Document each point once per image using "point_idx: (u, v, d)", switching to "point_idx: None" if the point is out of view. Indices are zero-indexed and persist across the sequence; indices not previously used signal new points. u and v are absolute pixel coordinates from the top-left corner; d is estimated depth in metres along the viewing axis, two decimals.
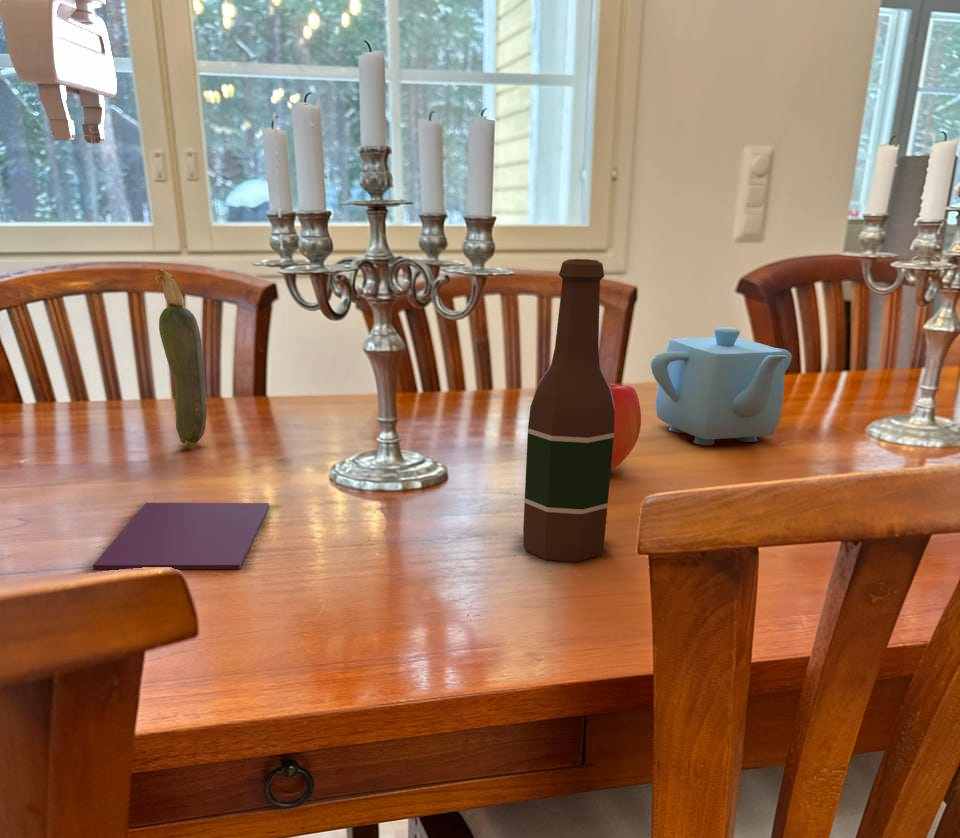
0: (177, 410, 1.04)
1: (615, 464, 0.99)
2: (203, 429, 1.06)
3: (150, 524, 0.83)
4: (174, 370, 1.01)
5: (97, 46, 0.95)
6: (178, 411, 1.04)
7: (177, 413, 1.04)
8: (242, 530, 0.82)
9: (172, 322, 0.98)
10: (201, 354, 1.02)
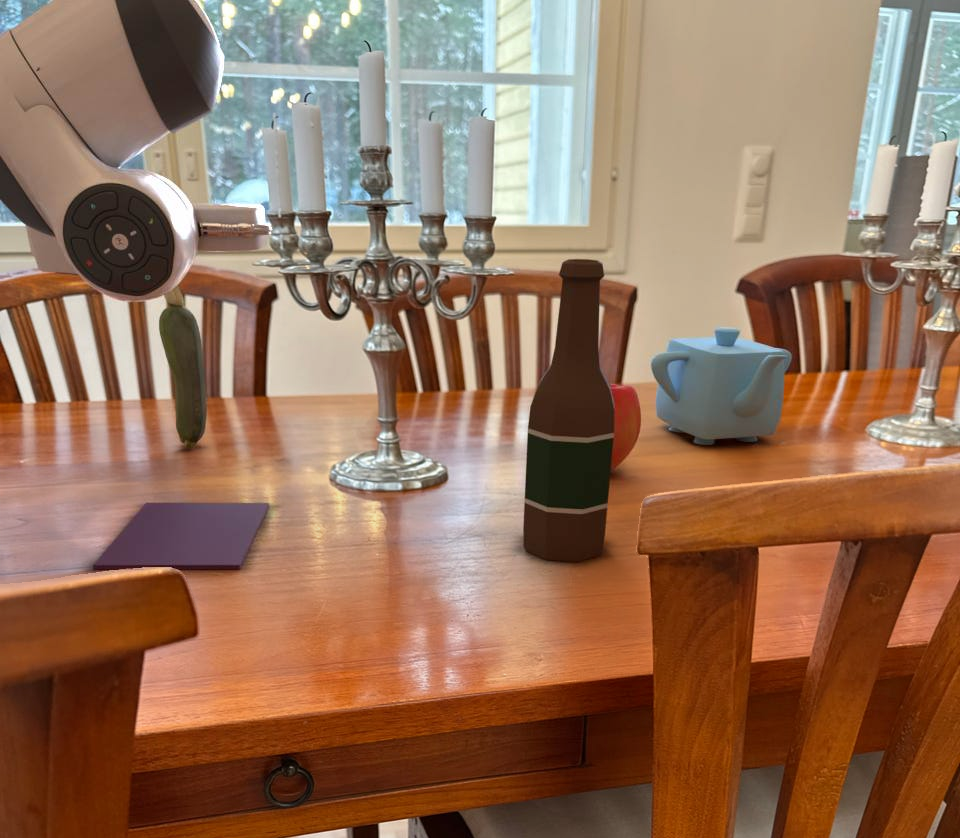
0: (177, 410, 1.04)
1: (615, 464, 0.99)
2: (203, 429, 1.06)
3: (150, 524, 0.83)
4: (174, 370, 1.01)
5: None
6: (178, 411, 1.04)
7: (177, 413, 1.04)
8: (242, 530, 0.82)
9: (171, 322, 0.98)
10: (201, 354, 1.02)
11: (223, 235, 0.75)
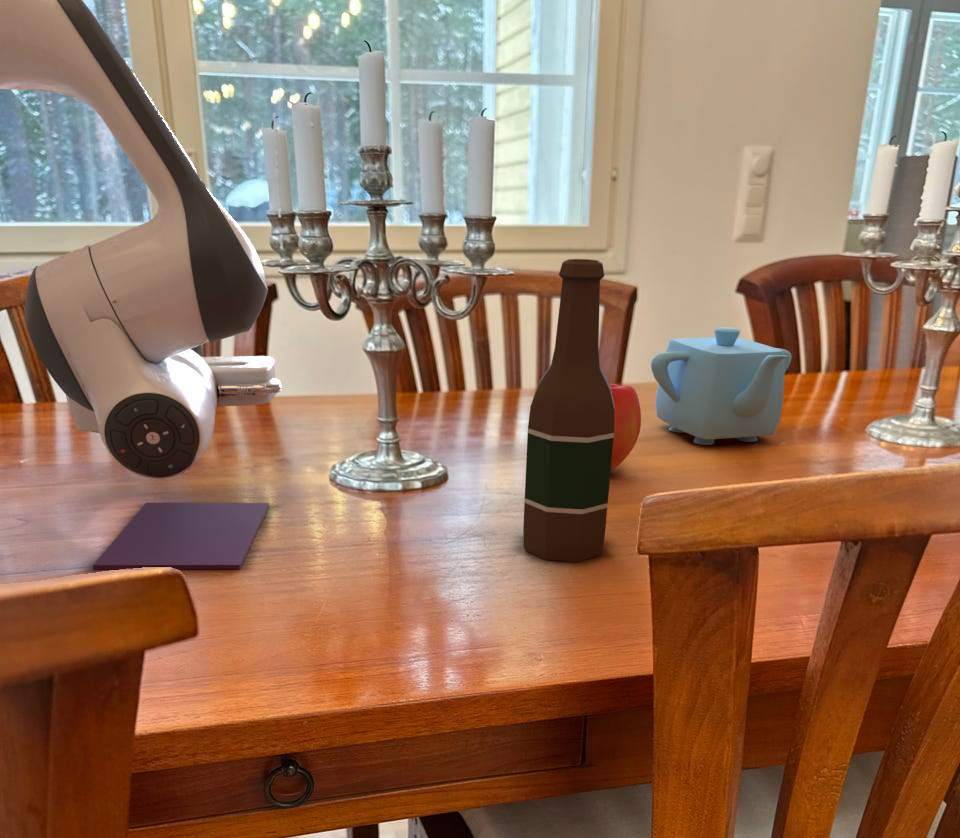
0: None
1: (615, 464, 0.99)
2: None
3: (150, 524, 0.83)
4: None
5: None
6: None
7: None
8: (242, 530, 0.82)
9: None
10: (201, 354, 1.02)
11: (239, 395, 0.84)
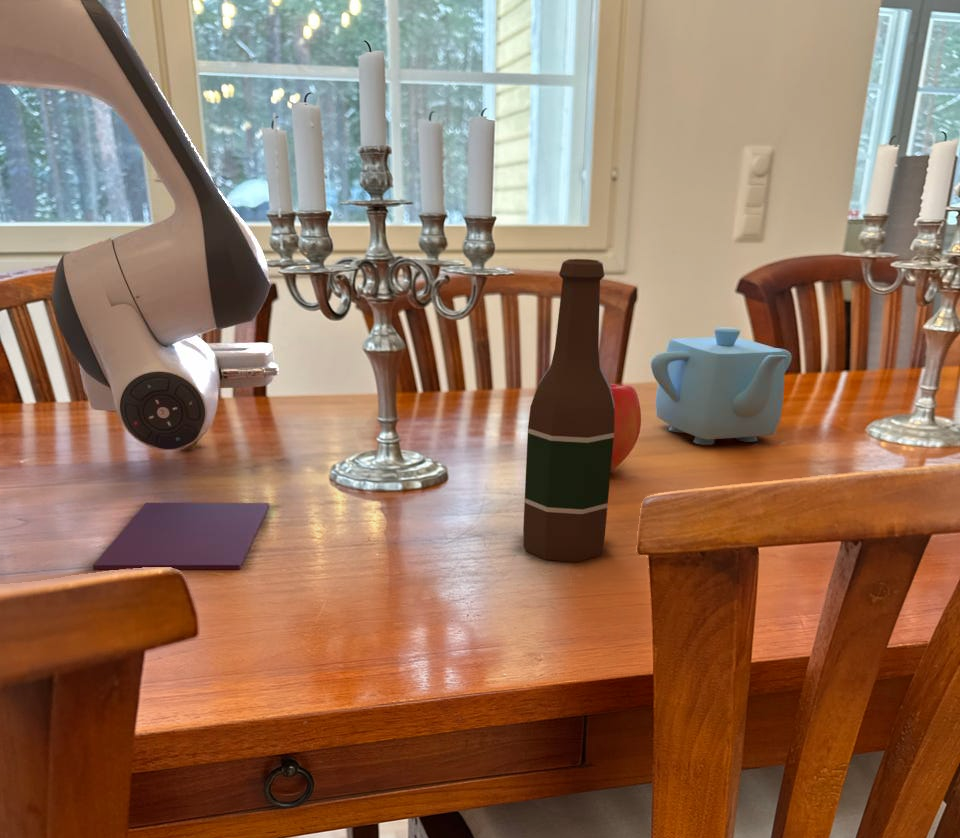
0: None
1: (615, 464, 0.99)
2: None
3: (150, 524, 0.83)
4: None
5: None
6: None
7: None
8: (242, 530, 0.82)
9: None
10: None
11: (240, 378, 0.92)
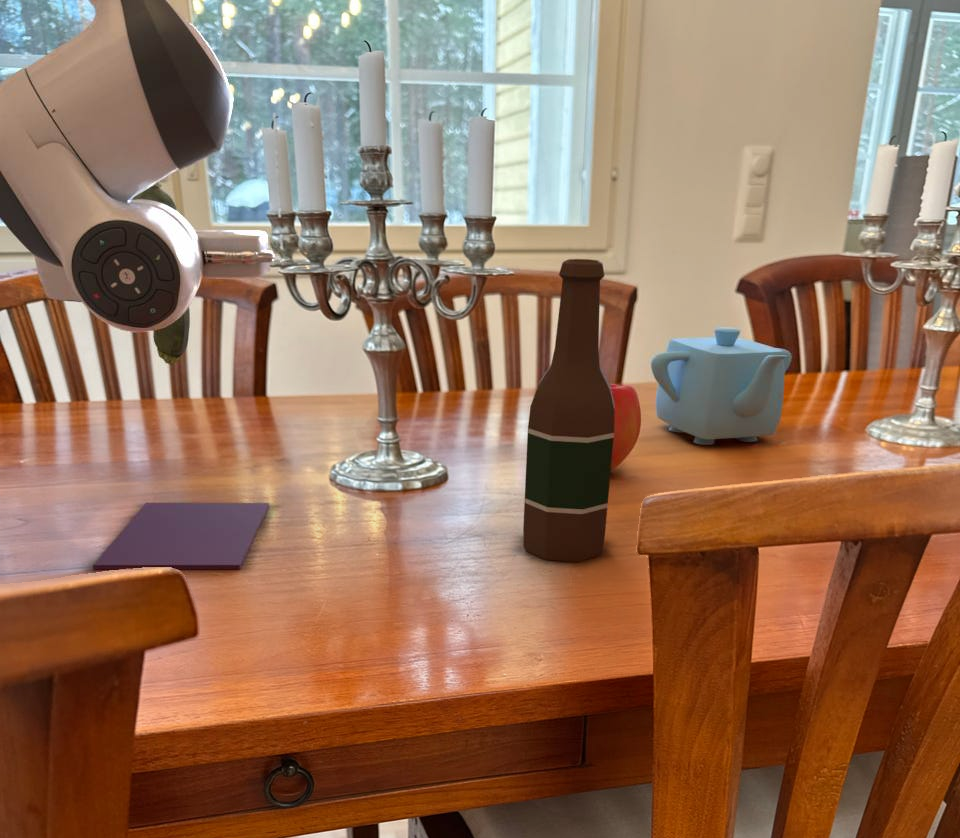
0: None
1: (615, 464, 0.99)
2: (186, 341, 0.90)
3: (150, 524, 0.83)
4: None
5: None
6: None
7: None
8: (242, 530, 0.82)
9: None
10: None
11: (227, 263, 0.76)
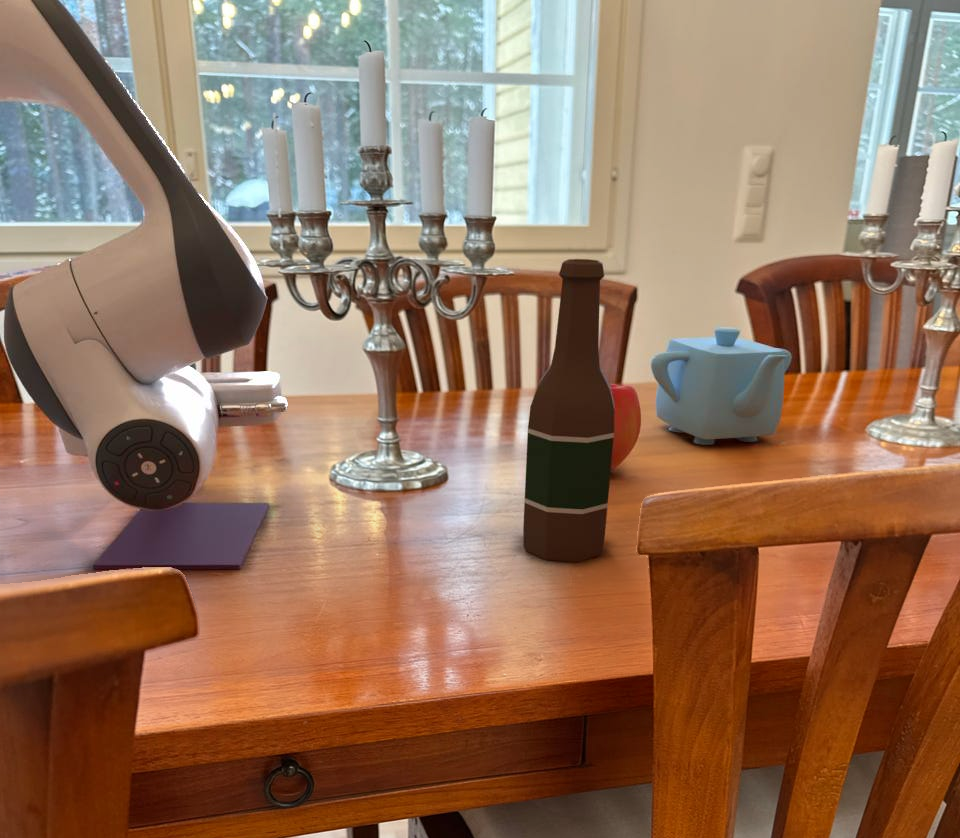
0: None
1: (615, 464, 0.99)
2: None
3: (150, 524, 0.83)
4: None
5: None
6: None
7: None
8: (242, 530, 0.82)
9: None
10: None
11: (242, 416, 0.78)
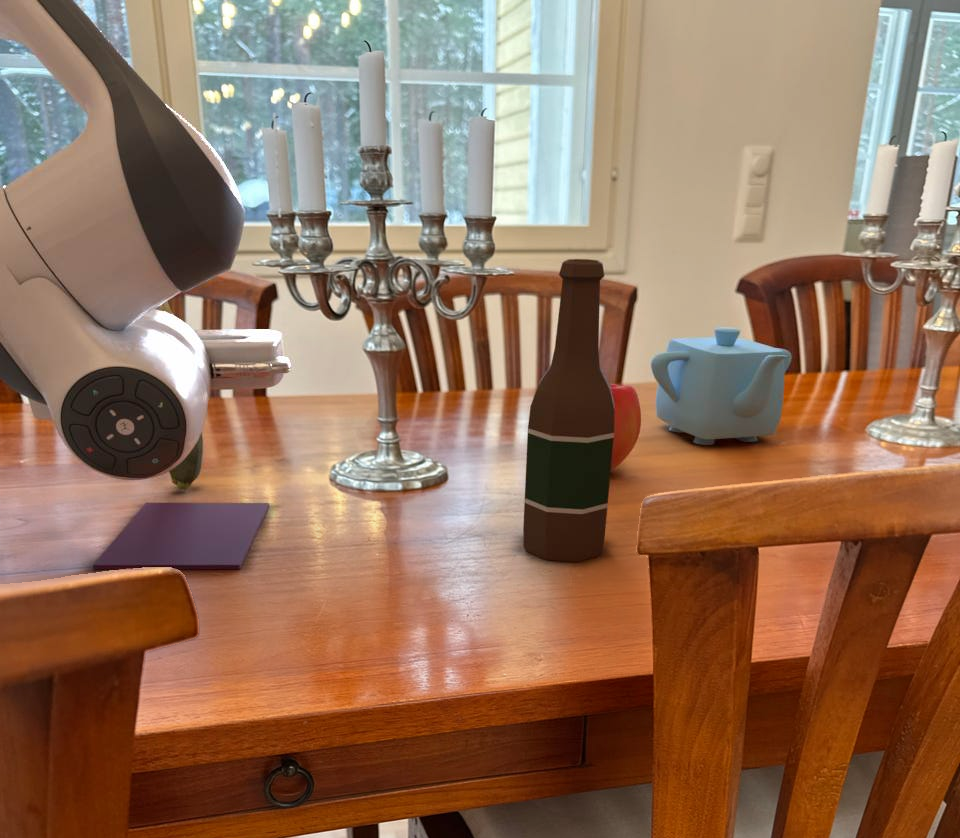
0: None
1: (615, 464, 0.99)
2: (199, 468, 0.92)
3: (150, 524, 0.83)
4: None
5: None
6: None
7: None
8: (242, 530, 0.82)
9: None
10: None
11: (238, 376, 0.68)
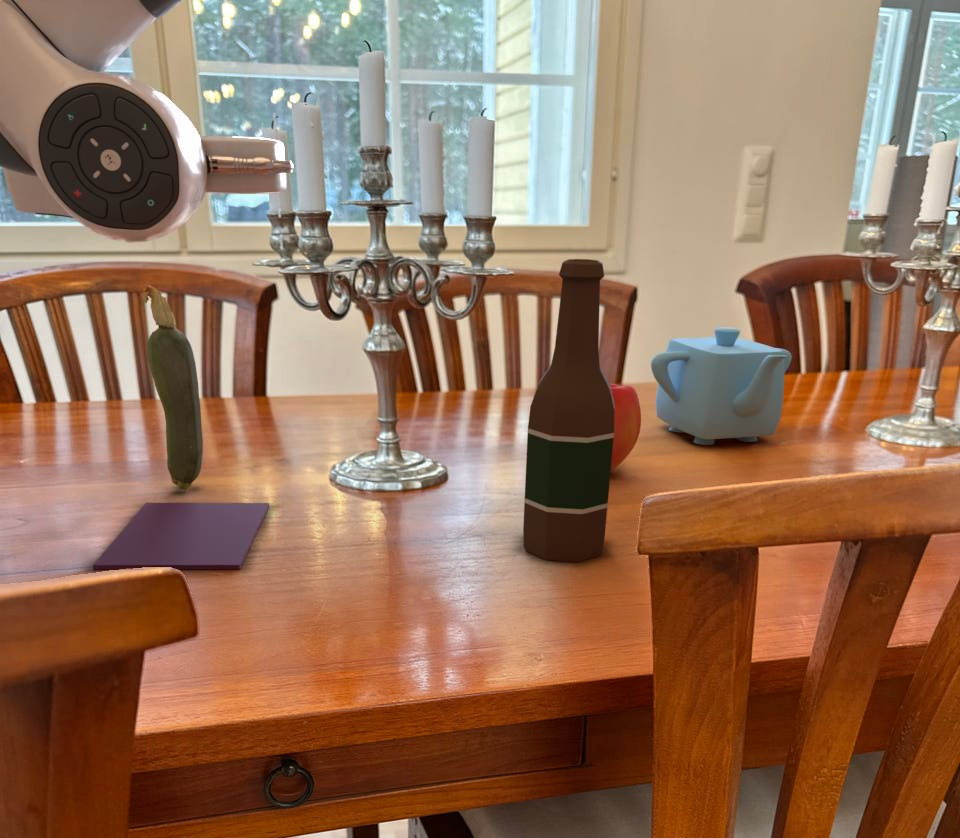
0: (168, 447, 0.90)
1: (615, 464, 0.99)
2: (199, 468, 0.92)
3: (150, 524, 0.83)
4: (165, 402, 0.87)
5: None
6: (170, 449, 0.90)
7: (169, 450, 0.90)
8: (242, 530, 0.82)
9: (161, 347, 0.84)
10: (196, 383, 0.88)
11: (236, 171, 0.63)
